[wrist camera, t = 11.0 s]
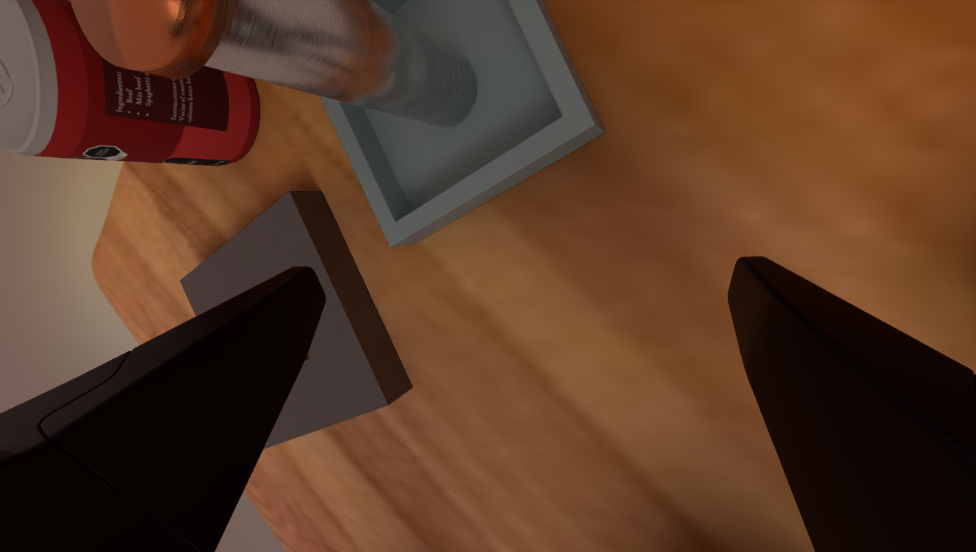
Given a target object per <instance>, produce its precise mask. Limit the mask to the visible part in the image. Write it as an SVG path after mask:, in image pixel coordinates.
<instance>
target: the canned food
mask: <svg viewBox="0 0 976 552" xmlns="http://www.w3.org/2000/svg"><path fill="white" fill-rule="evenodd" d="M259 117H260V113H259V100H258V94H257V90H256V87H255V84H254V81H253V79H252V78H250V77H246V76H242V75H238V74H234V73H231V72H227V71H223V70H219V69H215V68H211V67H207V66H203V67H202V68H201V69H200V70H198V71H197V72H196V73H194V74H193V75H190V76H188V77H185V78H180V79H173V78H167V77H162V76H158V75H153V74H148V73H144V72H139V71H135V70H130V69H126V68H122V67H118V66H115V65H113V64H111V63H110V62H108V61H107V60H105V59H104V58H103V57H102V56H101V55H100V54H99V53H98V52H97V51H96V50H95V49H94V48H93V46H92V45H91V44H90V42H89V41H88V39H87V37H86V36H85V34H84V32H83V31H82V29H81V27H80V25H79V22H78V20H77V18H76V15H75V13H74V10H73V8H72V4H71V1H69V0H0V148H1V149H3V150H4V151H7V152H8V153H13V154H22V155H27V156H42V157H57V158H72V159H92V160H113V161H130V162H150V163H170V164H190V165H209V166H221V165H225V164H229V163H233V162H236V161H238V160H240V159H241V158H242V157H243V156H245V155H246V154H247V152H248V151H249V149H250V148H251V146H252V144H253V142H254V140H255V137H256V134H257V130H258V126H259Z"/></svg>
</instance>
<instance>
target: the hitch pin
mask: <svg viewBox="0 0 976 552" xmlns="http://www.w3.org/2000/svg"><path fill="white" fill-rule="evenodd" d="M70 1H71V4H72V8H73V10H74V13H75V15H76V18H77V20H78V22H79V25H80V27H81V29H82V31H83V32H84V34H85V36H86V37H87V39H88V41H89V42H90V44H91V45H92V46H93V48H94V49H95V50H96V51H97V52H98V53H99V54H100V55H101V56H102V57H103V58H104V59H105V60H107V61H108V62H110V63H111V64H113V65H115V66H118V67H122V68H126V69H130V70H135V71H139V72H144V73H148V74H153V75H158V76H162V77H167V78H173V79H180V78H185V77H188V76H190V75H193V74H194V73H196V72H197V71H198V70H200V69H201V68H202V67H203V66H207V67H211V68H215V69H219V70H223V71H227V72H231V73H234V74H238V75H242V76H246V77H250V78H254V79H257V80H261V81H265V82H269V83H273V84H277V85H280V86H284V87H288V88H292V89H296V90H300V91H304V92H307V93H311V94H315V95H319V96H323V97H327V98H330V99H334V100H338V101H342V102H346V103H350V104H353V105H357V106H361V107H365V108H369V109H373V110H377V111H380V112H384V113H388V114H392V115H396V116H400V117H403V118H407V119H411V120H415V121H419V122H423V123H426V124H430V125H434V126H438V127H443V128H447V127H452V126H455V125H457V124H459V123H461V122H462V121H463V120H464V119H465V118H466V117H467V116H468V115H469V114H470V112H471V110H472V108H473V106H474V104H475V101H476V97H477V78H476V74H475V72H474V69H473V67H472V66H471V64H470V63H469V62H468V61H467V60H466V59H465V58H464V57H463V56H461V55H459V54H458V53H456V52H454V51H453V50H451V49H449V48H448V47H446V46H444V45H443V44H441V43H439V42H438V41H436V40H435V39H433V38H431V37H430V36H428V35H426V34H425V33H423V32H421V31H420V30H418V29H416V28H415V27H413V26H411V25H410V24H408V23H406V22H405V21H403V20H402V19H400V18H398V17H397V16H395V15H393V14H392V13H390V12H388V11H387V10H385V9H383V8H382V7H380V6H378V5H377V4H375V3H374V2H372V1H370V0H70Z"/></svg>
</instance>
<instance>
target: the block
mask: <svg viewBox="0 0 976 552" xmlns="http://www.w3.org/2000/svg"><path fill="white" fill-rule="evenodd" d="M294 266H309V267H312V268H313V269H314V271H315V272H316V275H317V277H318V279H319V281H320V283H321V285H322V287H323V289H324V292H325V295H326V303H325V306H324V309H323V312H322V315H321V318H320V321H319V324H318V326H317V329H316V332H315V335H314V338H313V341H312V344H311V346H310V349H309V352H308V355H309V357H310V359H308V360H306V361H305V362H304V364H303V366H302V368H301V371H300V373H299V375H298V377H297V379H296V381H295V383H294V385H293V388H292V390H291V392H290V394H289V396H288V398H287V400H286V402H285V404H284V407H283V409H282V411H281V413H280V415H279V417H278V419H277V421H276V423H275V426H274V428H273V430H272V432H271V434H270V436H269V438H268V440H267V442H266V445H265V447H264V449H265V448H268V447H271V446H274V445H277V444H279V443H282V442H285V441H288V440H291V439H294V438H297V437H299V436H302V435H305V434H308V433H311V432H314V431H316V430H319V429H322V428H325V427H328V426H331V425H334V424H336V423H339V422H342V421H345V420H348V419H351V418H353V417H356V416H359V415H362V414H365V413H368V412H371V411H373V410H376V409H379V408H382V407H385V406H388V405H389V404H391V403H392V402H393V401H395V400H396V399H398V398H399V397H400V396H402V395H403V394H405V393H406V392H407V391H409V390H410V389H411V388H413V387H412V385H411V383H410V380H409V378H408V376H407V374H406V372H405V370H404V368H403V365H402V363H401V361H400V359H399V357H398V355H397V352H396V350H395V348H394V346H393V344H392V342H391V339H390V337H389V335H388V333H387V331H386V329H385V327H384V324H383V322H382V320H381V318H380V316H379V314H378V311H377V309H376V307H375V305H374V303H373V301H372V299H371V296H370V294H369V292H368V290H367V288H366V286H365V283H364V281H363V279H362V277H361V275H360V273H359V271H358V268H357V266H356V264H355V262H354V260H353V258H352V255H351V253H350V251H349V249H348V247H347V245H346V243H345V240H344V238H343V236H342V234H341V232H340V230H339V227H338V225H337V223H336V221H335V219H334V217H333V215H332V212H331V210H330V208H329V206H328V204H327V202H326V199H325V197H324V195H323V193H322V191H289V192H288V193H287V194H285V195H284V196H283V197H282V198H280V199H279V200H278V201H277V202H276V203H274V204H273V205H272V206H271V207H269V208H268V209H267V210H266V211H265V212H263V213H262V214H261V215H260V216H258V217H257V218H256V219H255V220H254V221H252V222H251V223H250V224H249V225H247V226H246V227H245V228H244V229H242V230H241V231H240V232H239V233H238V234H236V235H235V236H234V237H233V238H231V239H230V240H229V241H228V242H227V243H225V244H224V245H223V246H222V247H220V248H219V249H218V250H217V251H216V252H214V253H213V254H212V255H211V256H209V257H208V258H207V259H206V260H205V261H203V262H202V263H201V264H200V265H198V266H197V267H196V268H195V269H194V270H192V271H191V272H190V273H189V274H187V275H186V276H185V277H184V278H183V279H181V280H180V282H181V284H182V286H183V289H184V291H185V293H186V295H187V297H188V300H189V302H190V304H191V306H192V308H193V311H194V313H195V315H196V316H198V315H200V314H202V313H204V312H206V311H208V310H209V309H211V308H213V307H215V306H217V305H219V304H221V303H223V302H225V301H227V300H229V299H231V298H233V297H235V296H237V295H239V294H241V293H242V292H244V291H246V290H248V289H250V288H252V287H254V286H256V285H258V284H260V283H262V282H264V281H266V280H268V279H270V278H272V277H274V276H276V275H277V274H279V273H281V272H283V271H285V270H287V269H289V268H291V267H294Z"/></svg>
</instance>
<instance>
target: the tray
mask: <svg viewBox="0 0 976 552" xmlns="http://www.w3.org/2000/svg"><path fill="white" fill-rule="evenodd" d="M370 1H372V2H374V3H375V4H377V5H378V6H380V7H382V8H383V9H385V10H387V11H388V12H390V13H392V14H393V15H395V16H397V17H398V18H400V19H402V20H403V21H405V22H406V23H408V24H410V25H411V26H413V27H415V28H416V29H418V30H420V31H421V32H423V33H425V34H426V35H428V36H430V37H431V38H433V39H435V40H436V41H438V42H439V43H441V44H443V45H444V46H446V47H448V48H449V49H451V50H453V51H454V52H456V53H458V54H459V55H461V56H463V57H464V58H465V59H466V60H467V61H468V62H469V63H470V64H471V66H472V67H473V69H474V72H475V74H476V78H477V97H476V101H475V104H474V106H473V108H472V110H471V112H470V114H469V115H468V116H467V117H466V118H465V119H464V120H463V121H462V122H461V123H459V124H457V125H455V126H452V127H447V128H443V127H438V126H434V125H430V124H426V123H423V122H419V121H415V120H411V119H407V118H403V117H400V116H396V115H392V114H388V113H384V112H380V111H377V110H373V109H369V108H365V107H361V106H357V105H353V104H350V103H346V102H342V101H338V100H334V99H330V98H327V97H323V96H320V98H321V100H322V102H323V105H324V107H325V109H326V111H327V113H328V115H329V117H330V120H331V122H332V124H333V126H334V128H335V130H336V132H337V135H338V137H339V139H340V141H341V143H342V145H343V147H344V150H345V152H346V154H347V156H348V158H349V160H350V162H351V165H352V167H353V169H354V171H355V173H356V175H357V178H358V180H359V182H360V184H361V186H362V188H363V190H364V193H365V195H366V197H367V199H368V201H369V203H370V205H371V208H372V210H373V212H374V214H375V216H376V218H377V220H378V223H379V225H380V227H381V229H382V231H383V233H384V235H385V238H386V240H387V242H388V244H389V246H390V247H395V246H400V245H406V244H411V243H416V242H418V241H420V240H422V239H423V238H425V237H427V236H428V235H430V234H432V233H434V232H435V231H437V230H439V229H440V228H442V227H444V226H446V225H447V224H449V223H451V222H452V221H454V220H456V219H458V218H459V217H461V216H463V215H465V214H466V213H468V212H470V211H471V210H473V209H475V208H477V207H478V206H480V205H482V204H483V203H485V202H487V201H489V200H490V199H492V198H494V197H495V196H497V195H499V194H501V193H502V192H504V191H506V190H507V189H509V188H511V187H513V186H514V185H516V184H518V183H519V182H521V181H523V180H525V179H526V178H528V177H530V176H531V175H533V174H535V173H537V172H538V171H540V170H542V169H543V168H545V167H547V166H549V165H550V164H552V163H554V162H556V161H557V160H559V159H561V158H562V157H564V156H566V155H568V154H569V153H571V152H573V151H574V150H576V149H578V148H580V147H581V146H583V145H585V144H586V143H588V142H590V141H592V140H593V139H595V138H597V137H598V136H600V135H602V134H604V133H605V130H604V128H603V126H602V124H601V122H600V120H599V118H598V116H597V114H596V112H595V109H594V107H593V105H592V103H591V101H590V99H589V97H588V95H587V93H586V91H585V89H584V86H583V84H582V82H581V80H580V78H579V76H578V74H577V72H576V70H575V68H574V66H573V63H572V61H571V59H570V57H569V55H568V53H567V51H566V49H565V47H564V45H563V42H562V40H561V38H560V36H559V34H558V32H557V30H556V28H555V26H554V24H553V22H552V19H551V17H550V15H549V13H548V11H547V9H546V7H545V5H544V3H543V1H542V0H370Z"/></svg>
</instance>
